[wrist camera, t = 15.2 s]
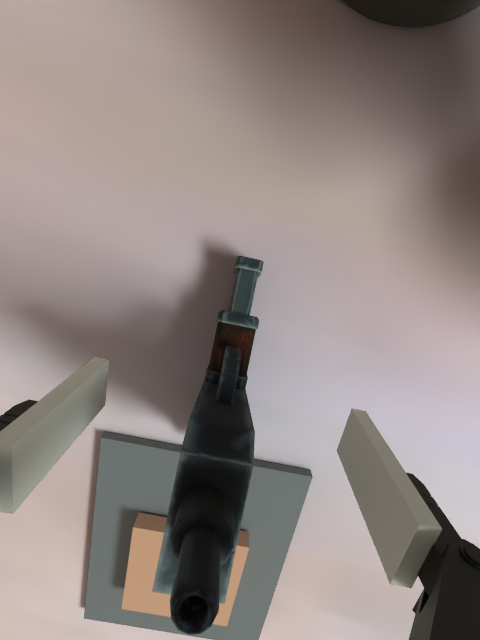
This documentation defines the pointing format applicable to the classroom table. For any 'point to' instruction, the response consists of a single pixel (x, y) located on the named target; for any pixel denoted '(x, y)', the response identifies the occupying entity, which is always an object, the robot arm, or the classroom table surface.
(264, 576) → the mat
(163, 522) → the tile
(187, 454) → the gun
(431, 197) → the classroom table surface
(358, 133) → the classroom table surface
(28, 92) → the classroom table surface
